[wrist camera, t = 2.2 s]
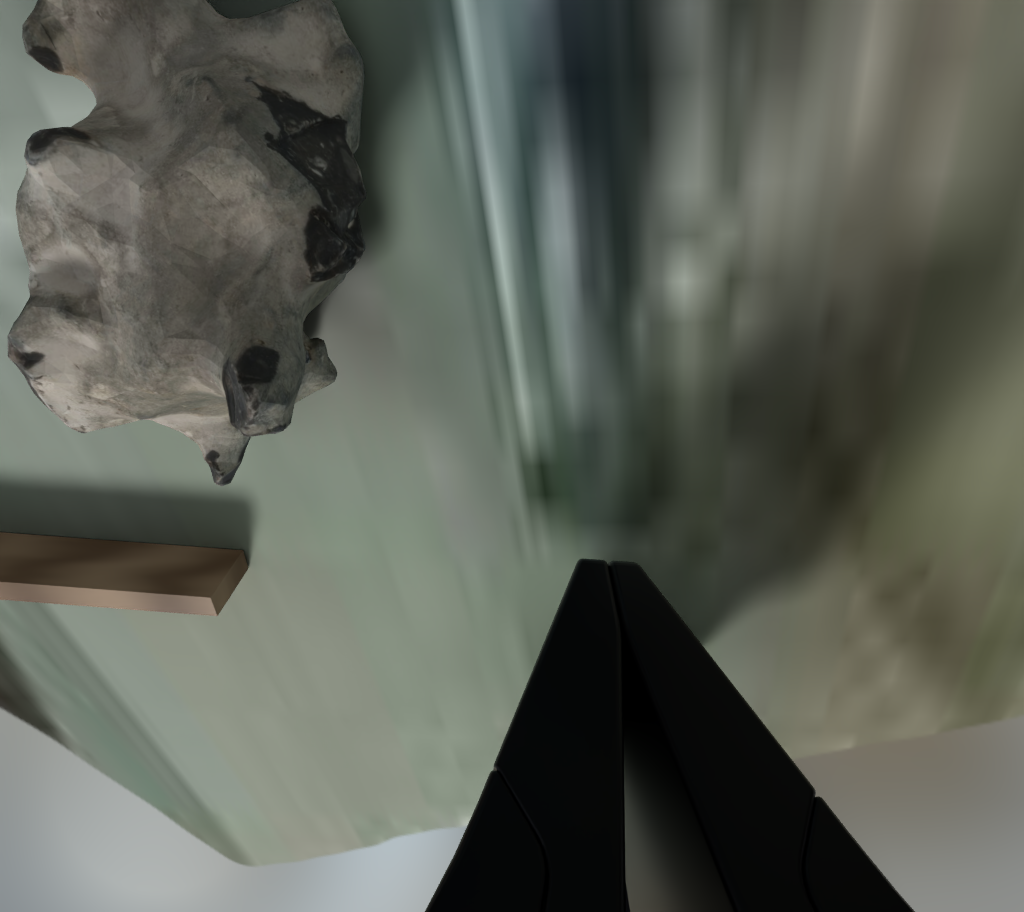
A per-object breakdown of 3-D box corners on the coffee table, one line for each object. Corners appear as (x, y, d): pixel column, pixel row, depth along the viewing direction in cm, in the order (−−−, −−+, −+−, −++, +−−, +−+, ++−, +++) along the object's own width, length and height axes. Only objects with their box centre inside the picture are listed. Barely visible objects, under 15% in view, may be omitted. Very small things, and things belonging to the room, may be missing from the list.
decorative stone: (-30, -126, 13) (-666, -396, 5) (361, -56, 15) (334, -175, 7) (154, 427, 22) (28, 631, 14) (380, 425, 24) (377, 604, 16)
